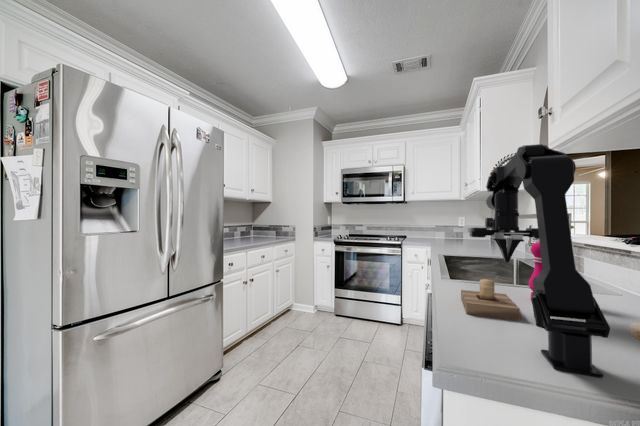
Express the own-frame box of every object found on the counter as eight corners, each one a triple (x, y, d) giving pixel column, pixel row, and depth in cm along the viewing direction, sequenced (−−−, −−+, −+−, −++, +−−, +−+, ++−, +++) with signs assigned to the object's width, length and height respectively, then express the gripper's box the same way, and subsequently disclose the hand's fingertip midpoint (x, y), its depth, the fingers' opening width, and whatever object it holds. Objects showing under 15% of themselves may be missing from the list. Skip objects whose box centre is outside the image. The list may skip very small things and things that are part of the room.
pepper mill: (564, 304, 80) (563, 238, 80) (537, 303, 82) (536, 237, 82) (549, 297, 87) (548, 236, 87) (524, 296, 89) (523, 236, 89)
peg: (496, 311, 74) (495, 282, 74) (480, 309, 76) (480, 281, 76) (493, 307, 78) (493, 280, 78) (478, 305, 79) (478, 278, 79)
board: (519, 320, 68) (519, 308, 68) (466, 313, 72) (466, 302, 72) (505, 303, 81) (505, 293, 81) (461, 299, 85) (461, 289, 85)
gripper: (535, 209, 83) (535, 259, 83) (467, 210, 90) (467, 256, 90) (549, 208, 73) (550, 266, 73) (471, 209, 80) (472, 261, 80)
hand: (506, 262), depth 79 cm, fingers closed
